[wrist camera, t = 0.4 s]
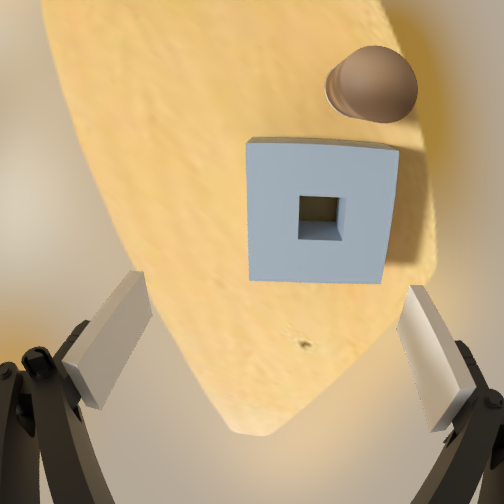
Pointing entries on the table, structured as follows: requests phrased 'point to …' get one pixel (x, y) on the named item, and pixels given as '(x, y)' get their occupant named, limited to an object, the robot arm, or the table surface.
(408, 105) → the peg
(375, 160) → the seat block
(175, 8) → the table surface
